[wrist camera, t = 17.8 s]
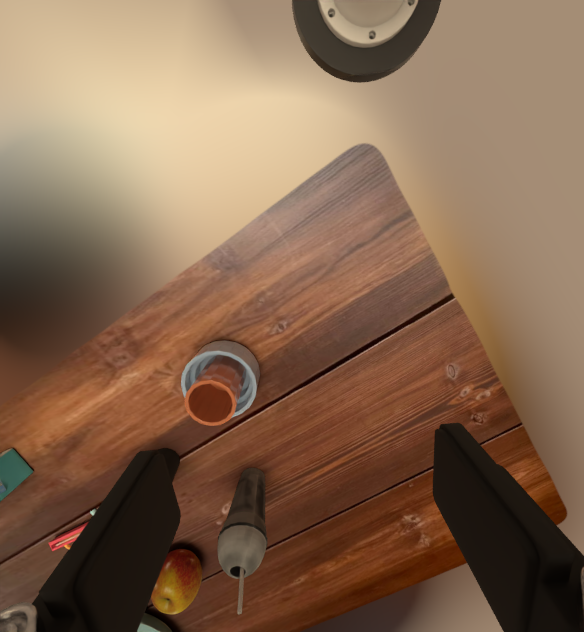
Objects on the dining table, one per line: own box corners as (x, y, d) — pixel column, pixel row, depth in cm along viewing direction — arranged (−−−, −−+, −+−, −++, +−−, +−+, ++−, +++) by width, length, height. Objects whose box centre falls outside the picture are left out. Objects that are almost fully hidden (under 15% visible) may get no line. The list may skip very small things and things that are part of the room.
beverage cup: (226, 469, 52) (188, 605, 33) (261, 455, 51) (243, 586, 32) (244, 498, 54) (218, 643, 34) (279, 485, 53) (271, 626, 34)
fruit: (159, 538, 56) (139, 586, 49) (205, 539, 56) (191, 587, 49) (164, 573, 59) (145, 624, 51) (208, 574, 59) (195, 624, 51)
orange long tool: (54, 527, 57) (63, 549, 56) (43, 534, 55) (52, 558, 54) (151, 480, 54) (161, 503, 53) (144, 486, 52) (154, 510, 51)
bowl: (186, 343, 46) (173, 355, 41) (254, 335, 45) (250, 346, 40) (200, 404, 48) (190, 422, 44) (264, 397, 48) (261, 414, 43)
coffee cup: (201, 356, 46) (179, 383, 37) (242, 351, 45) (231, 377, 37) (209, 393, 47) (190, 428, 39) (249, 389, 47) (239, 423, 38)
